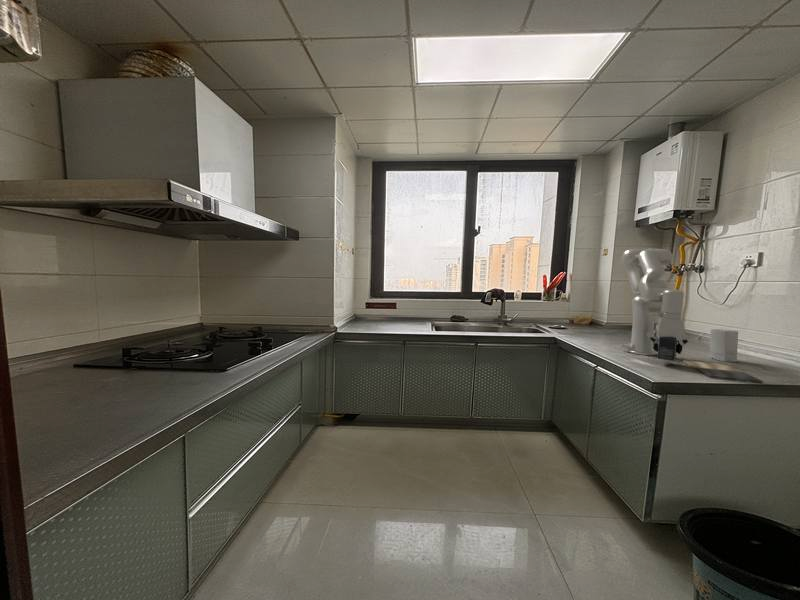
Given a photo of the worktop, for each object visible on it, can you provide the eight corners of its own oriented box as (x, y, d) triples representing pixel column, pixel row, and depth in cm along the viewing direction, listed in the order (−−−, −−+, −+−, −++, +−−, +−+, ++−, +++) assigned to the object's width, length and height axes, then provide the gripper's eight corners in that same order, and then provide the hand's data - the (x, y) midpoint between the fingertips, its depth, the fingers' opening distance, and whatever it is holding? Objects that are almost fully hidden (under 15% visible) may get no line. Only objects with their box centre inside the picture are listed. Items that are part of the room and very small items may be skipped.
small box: (658, 353, 158) (661, 332, 157) (676, 356, 154) (678, 335, 152) (656, 358, 151) (658, 336, 149) (674, 361, 146) (677, 339, 145)
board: (710, 377, 132) (710, 375, 132) (682, 362, 156) (683, 360, 156) (762, 383, 126) (762, 380, 126) (725, 366, 150) (725, 364, 150)
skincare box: (737, 362, 158) (740, 331, 156) (723, 362, 158) (726, 331, 156) (720, 357, 166) (723, 328, 165) (707, 357, 166) (710, 328, 165)
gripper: (650, 315, 149) (647, 352, 152) (698, 318, 143) (693, 356, 145) (645, 313, 156) (642, 348, 158) (690, 316, 150) (686, 352, 152)
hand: (666, 351), depth 152 cm, fingers closed on small box, 8 cm apart
